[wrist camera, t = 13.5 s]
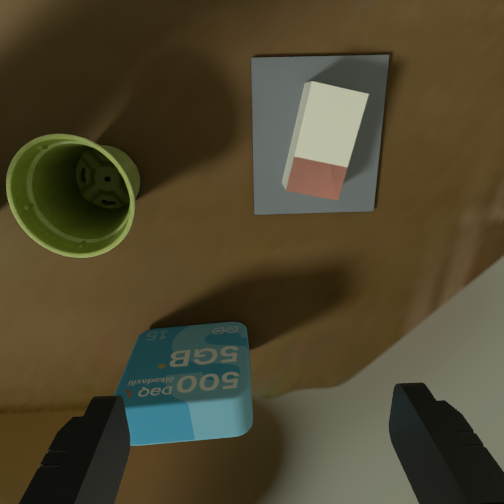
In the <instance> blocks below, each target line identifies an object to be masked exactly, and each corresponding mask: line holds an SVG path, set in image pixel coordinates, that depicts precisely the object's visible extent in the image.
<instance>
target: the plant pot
mask: <svg viewBox="0 0 504 504" xmlns="http://www.w3.org/2000/svg"><path fill="white" fill-rule="evenodd" d="M101 153H103V154H104V155H101ZM83 168H85V180H86V182H85V183H84V182H83V181H82V179H81V171H82V169H83ZM105 177H109V178H110V181H108V182H107V181H105ZM139 189H140V175H139V171H138V168H137V166H136V165H135V164H134V162H133V161H132V160H131V158H130V157H129V156H128V155H127V154H126V153H125V152H123V151H121V150H120V149H117V148H115V147H112V146H106V145H98V144H97V143H95V142H93V141H91V140H88V139H86V138H83V137H80V136H76V135H71V134H49V135H45V136H41V137H38V138H35V139H33V140H32V141H30V142H28V143H27V144H25V145H24V146H23V147H22V148H21V149H20V150H19V151H18V152H17V153H16V155H15V156H14V157H13V159H12V161H11V163H10V165H9V168H8V172H7V177H6V191H7V197H8V202H9V205H10V208H11V210H12V213H13V215H14V216H15V218H16V220H17V222H18V223H19V224H20V226H21V227H22V228H23V230H24V231H25V232H26V233H27V234H28V235H29V236H30V237H31V238H32V239H33V240H34V241H36V242H37V243H38V244H40V245H41V246H43V247H44V248H46V249H48V250H50V251H52V252H55V253H58V254H60V255H64V256H68V257H77V258H86V257H93V256H97V255H100V254H103V253H105V252H108V251H109V250H111V249H113V248H114V247H115V246H117V245H118V244H119V243H120V242H121V241H122V240H123V239H124V238H125V237H126V235H127V234H128V232H129V230H130V228H131V226H132V223H133V220H134V216H135V199H136V197H137V194H138V192H139ZM102 200H106V201H111V202H112V201H115V202H116V203H115V204H104V203H103V202H102Z"/></svg>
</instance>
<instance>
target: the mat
mask: <svg viewBox="0 0 504 504" xmlns="http://www.w3.org/2000/svg"><path fill="white" fill-rule="evenodd" d="M388 64H389V55H356V56H309V57H261V58H251V73H252V121H253V170H254V214H255V215H261V214H293V213H324V212H356V211H374V202H375V192H376V182H377V172H378V163H379V153H380V143H381V133H382V123H383V113H384V104H385V94H386V84H387V74H388ZM310 81H314V82H318V83H323V84H327V85H332V86H336V87H340V88H345V89H349V90H354V91H358V92H362V93H367V94H369V96H368V99H367V102H366V106H365V109H364V113H363V116H362V120H361V123H360V126H359V130H358V133H357V137H356V140H355V144H354V147H353V151H352V154H351V157H350V161H349V164H348V168H347V171H346V175H345V178H344V181H343V185H342V188H341V192H340V195H339V199H338V201H337V200H332V199H327V198H322V197H316V196H311V195H306V194H301V193H296V192H291V191H286V190H285V188H284V186H283V184H282V179H283V175H284V170H285V166H286V162H287V157H288V153H289V149H290V144H291V140H292V136H293V131H294V127H295V123H296V118H297V114H298V110H299V105H300V101H301V97H302V92H303V88H304V84H305V83H307V82H310Z"/></svg>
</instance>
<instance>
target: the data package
mask: <svg viewBox="0 0 504 504" xmlns="http://www.w3.org/2000/svg"><path fill="white" fill-rule="evenodd" d="M118 395H120V396H122V398H123V401H124V406H125V411H126V416H127V421H128V426H129V432H130V445H133V446H138V445H150V444H161V443H172V442H183V441H194V440H205V439H216V438H226V437H237V436H240V435H243V434H245V433H246V432H247V431H248V430H249V429H250V428H251V426H252V423H253V410H252V389H251V369H250V354H249V344H248V335H247V328H246V326H245V325H244V324H242V323H240V322H223V323H212V324H201V325H190V326H179V327H167V328H156V329H151V330H148V331H145V332H144V333H142V334H141V335H140V336H139V337H138V339H137V342H136V344H135V346H134V349H133V351H132V354H131V356H130V358H129V361H128V363H127V366H126V368H125V370H124V373H123V375H122V378H121V380H120V382H119V385H118V387H117V390H116V392H115V394H114V396H118Z"/></svg>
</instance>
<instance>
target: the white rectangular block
mask: <svg viewBox="0 0 504 504" xmlns="http://www.w3.org/2000/svg"><path fill="white" fill-rule="evenodd" d="M368 96H369V94H367V93H362V92H358V91H354V90H349V89H345V88H340V87H336V86H332V85H327V84H323V83H318V82H314V81H310V82H307V83H305V84H304V88H303V92H302V97H301V101H300V105H299V110H298V114H297V118H296V123H295V127H294V131H293V136H292V140H291V144H290V149H289V153H288V157H287V162H286V166H285V170H284V175H283V179H282V184H283V186H284V188H285V190H286V191H291V192H296V193H301V194H306V195H311V196H316V197H322V198H327V199H332V200H337V201H338V199H339V195H340V192H341V188H342V185H343V181H344V178H345V175H346V171H347V168H348V164H349V161H350V157H351V154H352V151H353V147H354V144H355V140H356V137H357V133H358V130H359V126H360V123H361V120H362V116H363V113H364V109H365V106H366V102H367V99H368Z"/></svg>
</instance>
